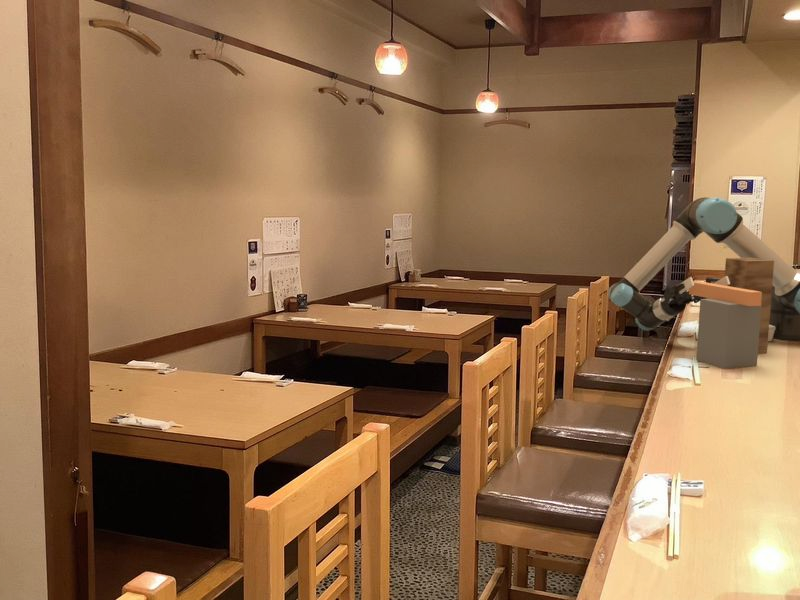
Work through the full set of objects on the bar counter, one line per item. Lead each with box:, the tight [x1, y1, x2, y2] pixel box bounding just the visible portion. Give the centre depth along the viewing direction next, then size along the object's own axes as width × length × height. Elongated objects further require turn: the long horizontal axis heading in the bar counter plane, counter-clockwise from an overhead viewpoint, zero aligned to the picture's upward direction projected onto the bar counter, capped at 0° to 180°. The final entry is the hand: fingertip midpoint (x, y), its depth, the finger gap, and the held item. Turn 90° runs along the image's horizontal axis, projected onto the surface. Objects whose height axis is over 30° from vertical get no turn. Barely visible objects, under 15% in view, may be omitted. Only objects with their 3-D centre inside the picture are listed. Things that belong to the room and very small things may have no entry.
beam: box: [688, 281, 762, 306], centre depth 234 cm, size 26×4×4 cm, turn 19°
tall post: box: [724, 257, 774, 355], centre depth 249 cm, size 10×10×30 cm
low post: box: [695, 299, 762, 370], centre depth 232 cm, size 12×12×19 cm
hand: (710, 280), depth 239 cm, fingers open, 13 cm apart
